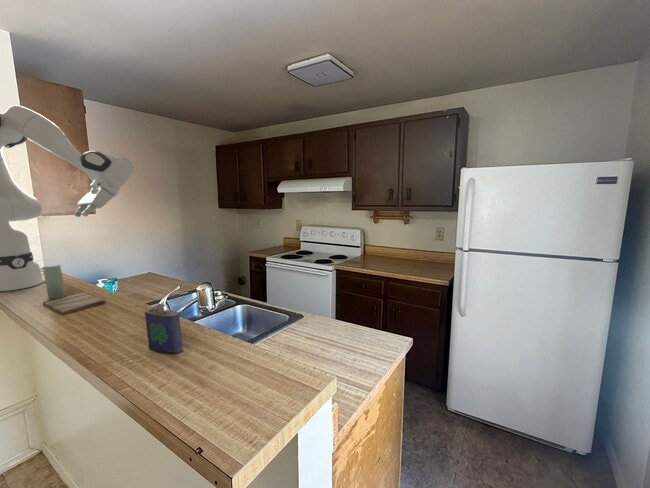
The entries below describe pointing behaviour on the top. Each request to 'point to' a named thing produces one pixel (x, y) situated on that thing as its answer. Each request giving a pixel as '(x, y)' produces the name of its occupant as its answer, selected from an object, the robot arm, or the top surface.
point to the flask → (163, 330)
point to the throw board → (73, 303)
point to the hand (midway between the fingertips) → (79, 215)
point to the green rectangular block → (54, 281)
